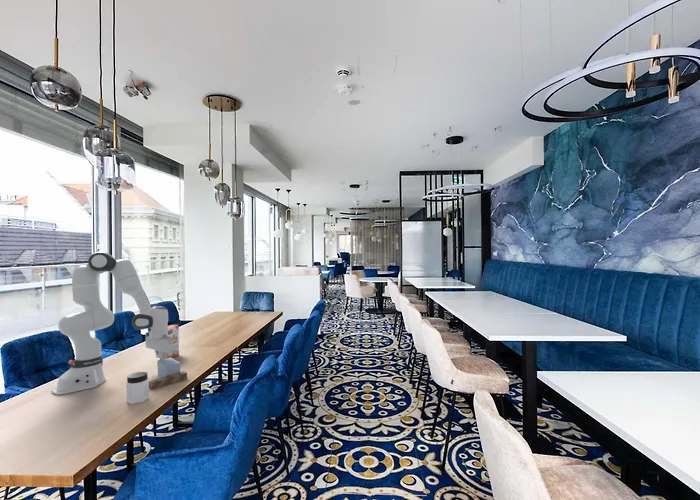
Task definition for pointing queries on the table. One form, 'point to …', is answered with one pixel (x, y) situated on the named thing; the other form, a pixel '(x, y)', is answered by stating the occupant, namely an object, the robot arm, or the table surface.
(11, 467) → the table surface
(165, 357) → the cracker box
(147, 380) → the jar
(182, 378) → the board
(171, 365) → the brick
